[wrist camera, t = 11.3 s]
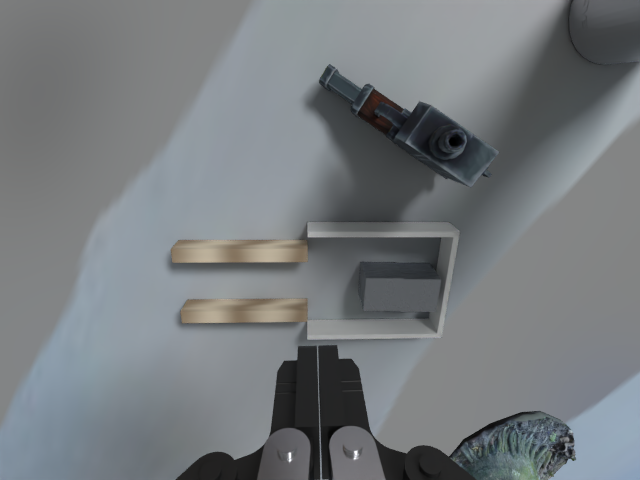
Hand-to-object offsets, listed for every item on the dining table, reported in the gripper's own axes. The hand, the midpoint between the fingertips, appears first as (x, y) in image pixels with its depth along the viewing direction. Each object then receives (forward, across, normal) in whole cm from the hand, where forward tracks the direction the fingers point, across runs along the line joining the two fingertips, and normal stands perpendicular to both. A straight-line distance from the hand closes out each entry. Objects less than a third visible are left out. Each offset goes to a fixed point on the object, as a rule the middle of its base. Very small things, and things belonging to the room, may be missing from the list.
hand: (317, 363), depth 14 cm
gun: (+26, -8, -7) cm, 28 cm away
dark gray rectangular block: (+26, -7, +10) cm, 29 cm away
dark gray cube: (+26, -11, +11) cm, 30 cm away
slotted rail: (+25, +8, +10) cm, 28 cm away
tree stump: (+26, -28, +42) cm, 56 cm away
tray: (+26, -7, +10) cm, 28 cm away
